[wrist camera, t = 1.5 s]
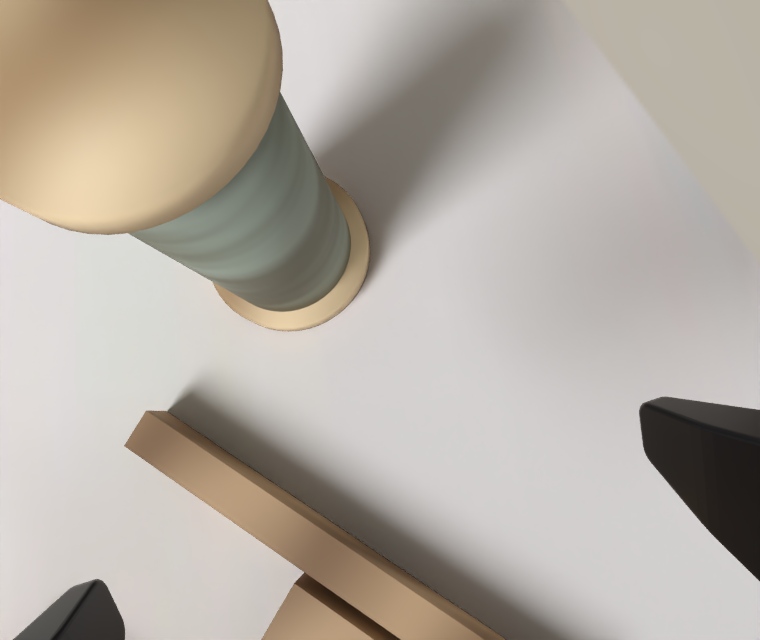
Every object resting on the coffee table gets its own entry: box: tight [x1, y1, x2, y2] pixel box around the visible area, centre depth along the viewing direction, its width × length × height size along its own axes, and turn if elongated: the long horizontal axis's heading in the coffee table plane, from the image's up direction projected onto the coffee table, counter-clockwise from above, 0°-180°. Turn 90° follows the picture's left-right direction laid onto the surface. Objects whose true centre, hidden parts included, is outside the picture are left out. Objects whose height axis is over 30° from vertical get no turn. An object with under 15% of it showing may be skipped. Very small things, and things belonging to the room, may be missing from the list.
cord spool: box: [0, 0, 370, 331], centre depth 16 cm, size 6×6×13 cm
